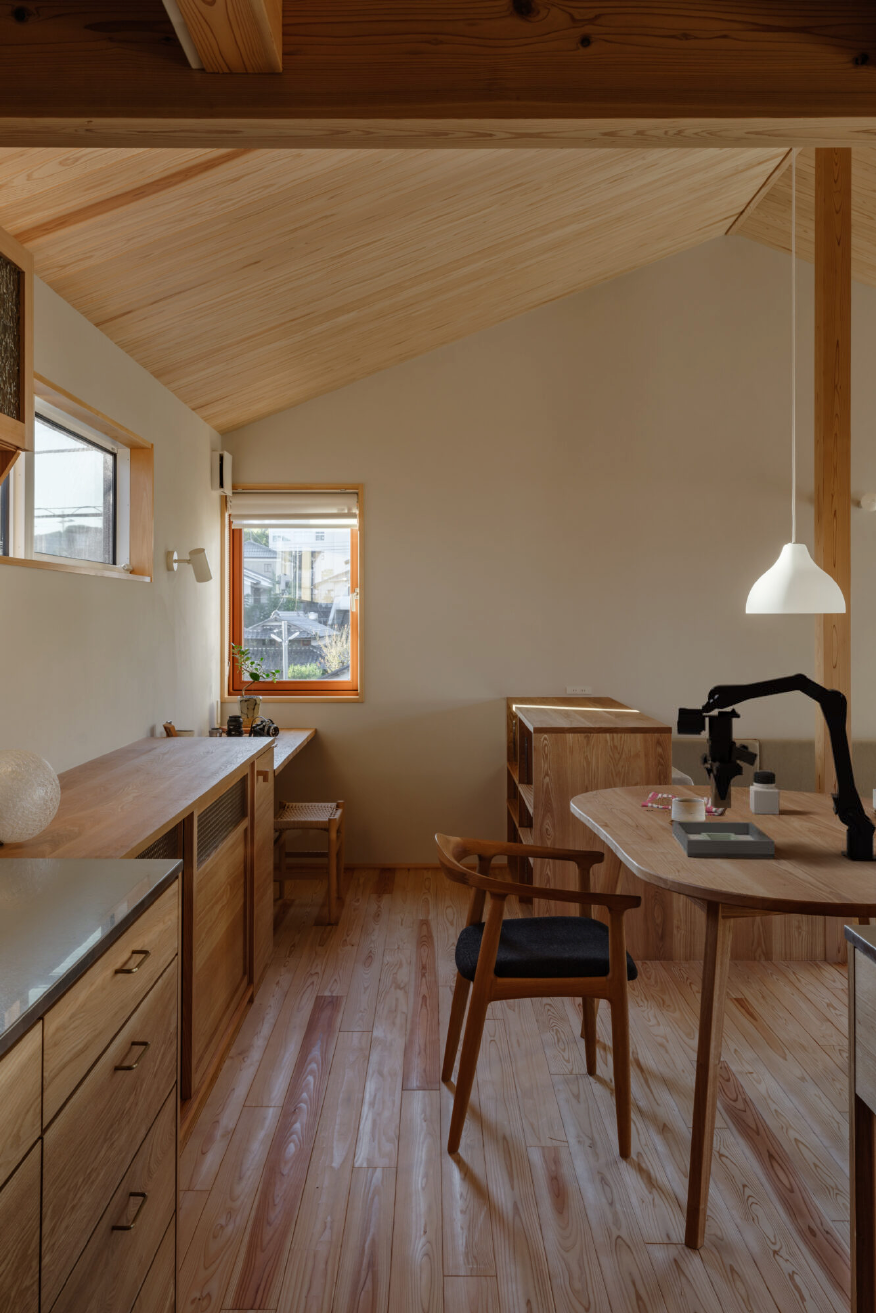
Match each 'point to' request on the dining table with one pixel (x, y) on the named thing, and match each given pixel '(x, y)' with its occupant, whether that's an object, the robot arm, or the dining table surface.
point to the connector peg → (715, 798)
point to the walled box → (723, 839)
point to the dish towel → (709, 808)
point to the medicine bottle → (764, 794)
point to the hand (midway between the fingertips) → (720, 798)
